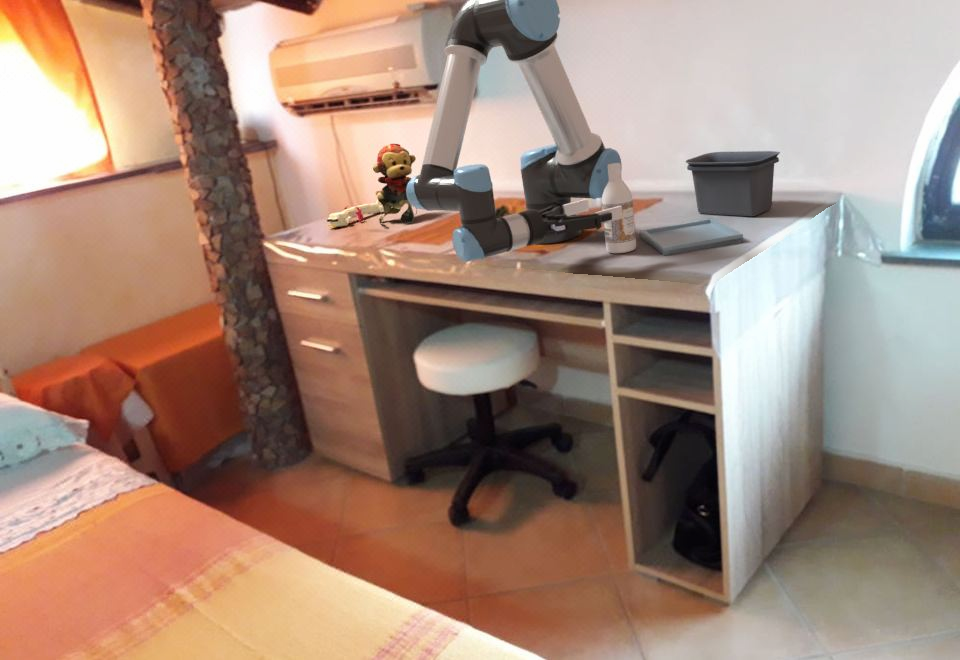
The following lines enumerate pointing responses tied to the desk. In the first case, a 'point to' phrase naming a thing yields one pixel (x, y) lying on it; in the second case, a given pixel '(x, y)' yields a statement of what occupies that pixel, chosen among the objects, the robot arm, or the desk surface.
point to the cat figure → (354, 213)
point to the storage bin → (734, 182)
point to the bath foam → (622, 230)
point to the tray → (690, 236)
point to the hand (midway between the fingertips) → (604, 208)
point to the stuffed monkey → (394, 180)
